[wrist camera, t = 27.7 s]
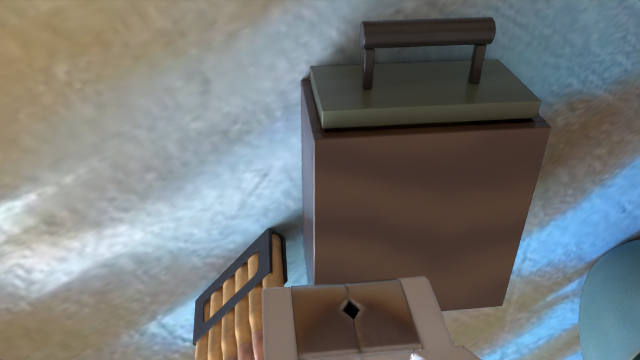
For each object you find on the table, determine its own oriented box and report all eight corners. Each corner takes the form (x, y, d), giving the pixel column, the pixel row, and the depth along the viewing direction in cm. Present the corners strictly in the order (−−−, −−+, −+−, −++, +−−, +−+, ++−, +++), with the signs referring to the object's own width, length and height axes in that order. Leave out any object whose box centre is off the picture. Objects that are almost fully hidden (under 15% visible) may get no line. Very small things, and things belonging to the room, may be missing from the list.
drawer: (310, 4, 35) (322, 40, 29) (510, -2, 36) (558, 32, 31) (311, 230, 45) (320, 289, 40) (466, 219, 47) (496, 275, 41)
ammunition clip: (268, 227, 46) (276, 341, 36) (286, 237, 47) (297, 351, 37) (194, 301, 50) (182, 422, 40) (211, 309, 50) (203, 430, 41)
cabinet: (300, 79, 39) (313, 139, 32) (497, 71, 40) (552, 126, 33) (303, 246, 48) (313, 322, 40) (465, 234, 49) (502, 306, 42)
